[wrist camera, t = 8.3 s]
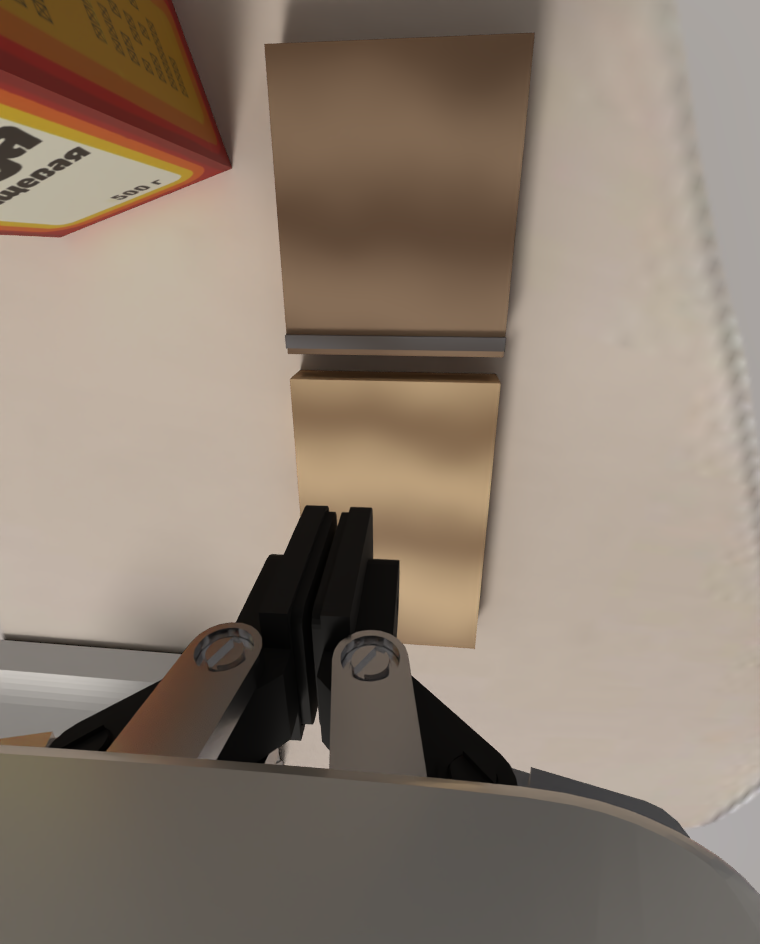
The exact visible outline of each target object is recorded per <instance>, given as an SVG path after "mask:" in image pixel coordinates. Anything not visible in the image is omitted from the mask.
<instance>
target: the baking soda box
mask: <svg viewBox="0 0 760 944" xmlns="http://www.w3.org/2000/svg"><path fill="white" fill-rule="evenodd" d="M229 169H232V166H231V164H230V161H229V158H228V155H227V153H226V150H225V147H224V144H223V142H222V139H221V136H220V133H219V130H218V128H217V125H216V122H215V119H214V117H213V114H212V111H211V108H210V106H209V103H208V100H207V97H206V94H205V92H204V89H203V86H202V83H201V81H200V78H199V75H198V72H197V70H196V67H195V64H194V61H193V59H192V56H191V53H190V50H189V47H188V45H187V42H186V39H185V36H184V34H183V31H182V28H181V25H180V23H179V20H178V17H177V14H176V12H175V9H174V6H173V3H172V0H0V235H19V236H41V237H62V236H65V235H67V234H70V233H72V232H75V231H77V230H80V229H82V228H85V227H87V226H90V225H92V224H95V223H97V222H100V221H102V220H105V219H107V218H110V217H112V216H115V215H117V214H120V213H122V212H125V211H127V210H129V209H132V208H134V207H137V206H139V205H142V204H144V203H147V202H149V201H152V200H154V199H157V198H159V197H162V196H164V195H167V194H169V193H172V192H174V191H177V190H179V189H182V188H184V187H187V186H189V185H192V184H194V183H197V182H199V181H202V180H204V179H207V178H209V177H212V176H214V175H217V174H219V173H222V172H224V171H227V170H229Z"/></svg>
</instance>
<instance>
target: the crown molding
mask: <svg viewBox="0 0 760 944" xmlns="http://www.w3.org/2000/svg"><path fill="white" fill-rule="evenodd" d="M181 655H182V654H173V653H160V652H147V651H135V650H122V649H109V648H97V647H84V646H72V645H59V644H46V643H34V642H21V641H9V640H0V739H1V738H8V737H15V736H23V735H30V734H37V733H45V732H52V731H53V733H54V736H55V738H56V737H59V736H60V735H61V734H62V733H63V732H64V731H66V730H67V729H69V728H70V727H72V726H74V725H75V724H77V723H78V722H80V721H82V720H84V719H86V718H88V717H90V716H92V715H94V714H96V713H98V712H100V711H102V710H104V709H105V708H107V707H109V706H111V705H113V704H115V703H117V702H119V701H121V700H123V699H125V698H127V697H129V696H131V695H133V694H135V693H136V692H138V691H140V690H142V689H144V688H146V687H148V686H150V685H152V684H154V683H156V682H158V681H160V680H162V679H163V678H164V676H165V675H166V674H167V673H168V671H169V670H170V669H171V667H172V666H173V665H174V664H175V662H176V661H177V660H178V658H179V657H180V656H181ZM277 751H278V756H277V760H276V763H275V765H283V761H281V760H280V759H279V749H278V748H277Z"/></svg>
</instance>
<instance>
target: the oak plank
mask: <svg viewBox="0 0 760 944" xmlns="http://www.w3.org/2000/svg"><path fill="white" fill-rule="evenodd" d="M500 385H501V383H500V381H499V379H498V377H497V375H496V374H475V373H423V372H371V371H319V370H300V371H299V372H297V373H296V374H295V375H294V376H293V377H292V378H291V379H290V386H291V399H292V412H293V425H294V438H295V451H296V464H297V477H298V490H299V503H300V516H301V514H302V512H303V510H304V508H305V506H306V505H317V506H328V507H329V512H336V514H337V526H338V523H339V519H340V516H341V513H342V512H349V510H350V507H372V509H373V559H389V560H399V561H400V580H399V611H398V627H397V638H398V639H399V640H400V641H401V642H402V644H415V645H430V646H444V647H459V648H473V649H475V641H476V631H477V621H478V610H479V600H480V590H481V580H482V569H483V559H484V549H485V539H486V528H487V518H488V508H489V498H490V487H491V477H492V467H493V457H494V446H495V436H496V426H497V416H498V405H499V395H500Z"/></svg>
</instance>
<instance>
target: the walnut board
mask: <svg viewBox="0 0 760 944" xmlns="http://www.w3.org/2000/svg"><path fill="white" fill-rule="evenodd" d="M534 35H535V33H515V34H491V35H467V36H444V37H420V38H396V39H372V40H348V41H324V42H301V43H277V44H264V45H265V58H266V71H267V84H268V97H269V110H270V124H271V137H272V150H273V163H274V176H275V189H276V203H277V216H278V229H279V242H280V255H281V268H282V281H283V295H284V308H285V321H286V335H285V341H286V348H288V354H329V355H390V356H452V357H503V354H504V352H505V342H506V337H505V334H506V323H507V313H508V303H509V292H510V282H511V272H512V262H513V251H514V241H515V231H516V220H517V210H518V200H519V189H520V179H521V169H522V159H523V148H524V138H525V128H526V117H527V107H528V97H529V86H530V76H531V66H532V56H533V45H534Z"/></svg>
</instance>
